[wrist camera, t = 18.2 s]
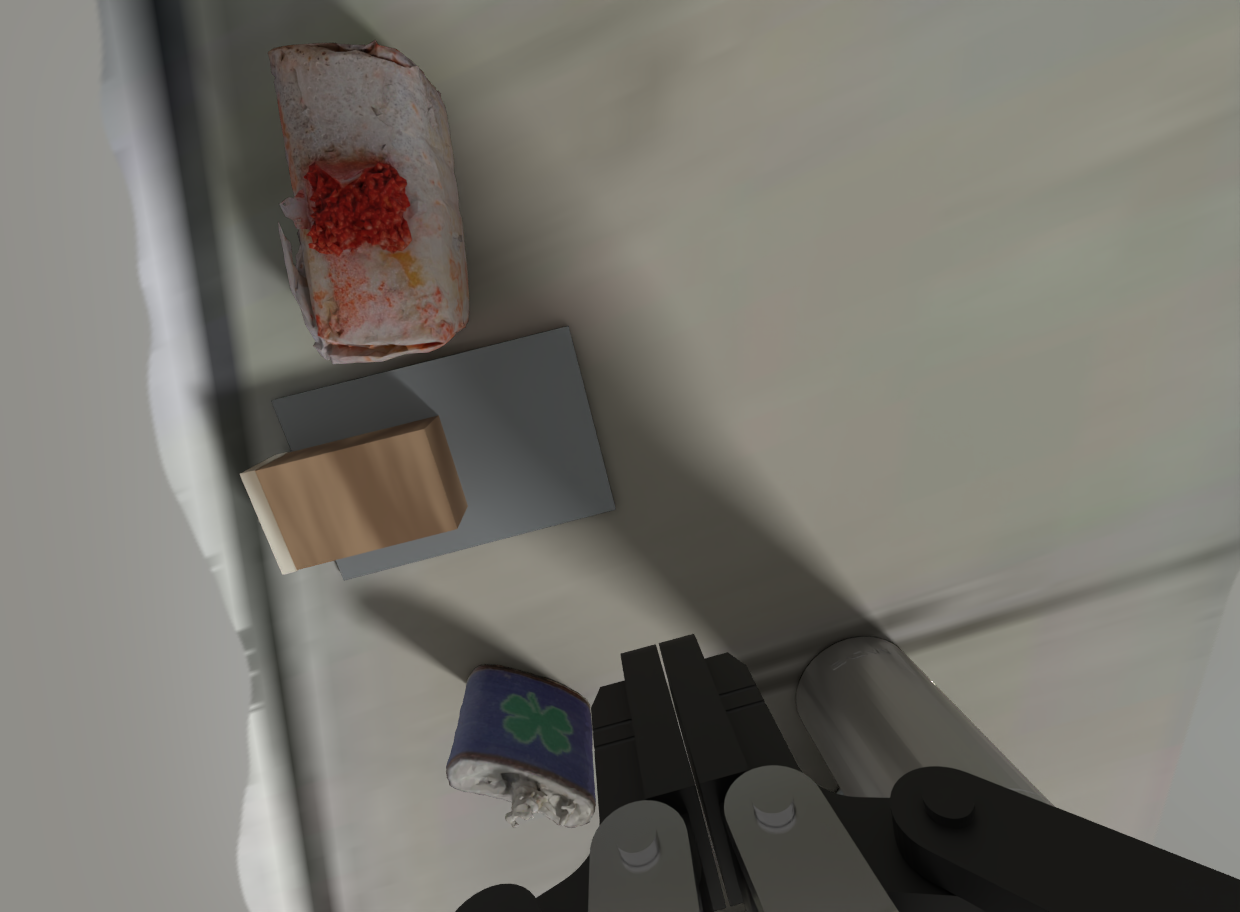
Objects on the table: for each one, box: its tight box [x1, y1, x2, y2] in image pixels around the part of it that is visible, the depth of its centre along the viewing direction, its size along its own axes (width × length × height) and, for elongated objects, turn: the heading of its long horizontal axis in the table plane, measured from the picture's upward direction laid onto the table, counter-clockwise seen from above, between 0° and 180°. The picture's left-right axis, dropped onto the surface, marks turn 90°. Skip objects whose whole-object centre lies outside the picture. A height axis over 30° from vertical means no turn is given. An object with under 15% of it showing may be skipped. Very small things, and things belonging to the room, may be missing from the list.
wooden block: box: [240, 415, 468, 575], centre depth 35 cm, size 4×6×10 cm
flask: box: [446, 664, 596, 828], centre depth 37 cm, size 9×3×11 cm, turn 63°
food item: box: [268, 40, 469, 364], centre depth 29 cm, size 14×8×10 cm, turn 4°
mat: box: [271, 326, 616, 580], centre depth 37 cm, size 12×18×1 cm, turn 103°
